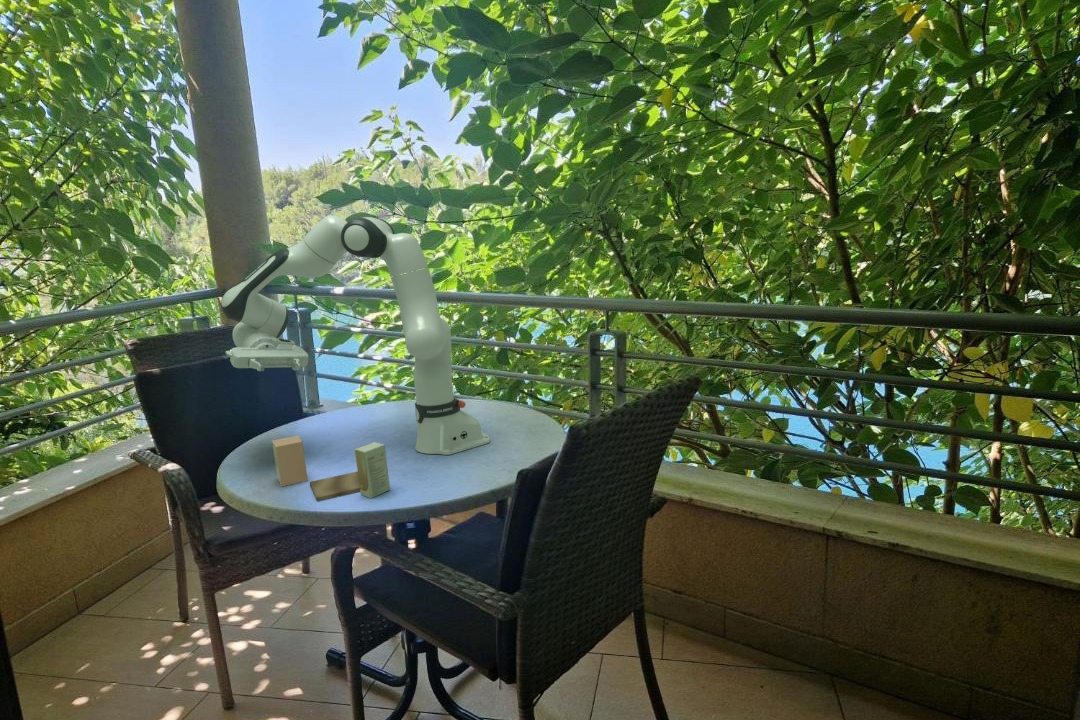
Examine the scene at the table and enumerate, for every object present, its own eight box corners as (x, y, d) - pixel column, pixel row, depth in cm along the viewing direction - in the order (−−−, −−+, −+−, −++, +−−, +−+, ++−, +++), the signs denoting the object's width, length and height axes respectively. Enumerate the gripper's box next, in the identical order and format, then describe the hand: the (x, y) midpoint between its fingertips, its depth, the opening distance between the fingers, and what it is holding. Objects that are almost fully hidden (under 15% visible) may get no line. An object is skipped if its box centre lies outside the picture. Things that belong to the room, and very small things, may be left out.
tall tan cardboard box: (303, 473, 172) (297, 435, 170) (307, 480, 166) (302, 441, 164) (277, 479, 169) (271, 440, 167) (281, 486, 163) (275, 447, 161)
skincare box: (380, 486, 160) (375, 441, 157) (391, 490, 157) (386, 444, 155) (359, 495, 155) (353, 448, 153) (369, 499, 152) (364, 451, 150)
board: (360, 474, 169) (359, 470, 169) (370, 489, 159) (370, 485, 158) (310, 485, 163) (309, 481, 163) (317, 501, 153) (316, 497, 152)
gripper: (224, 339, 170) (240, 357, 161) (298, 340, 184) (317, 356, 175) (222, 361, 172) (238, 380, 163) (295, 360, 186) (314, 377, 177)
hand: (279, 368), depth 169 cm, fingers open, 8 cm apart
